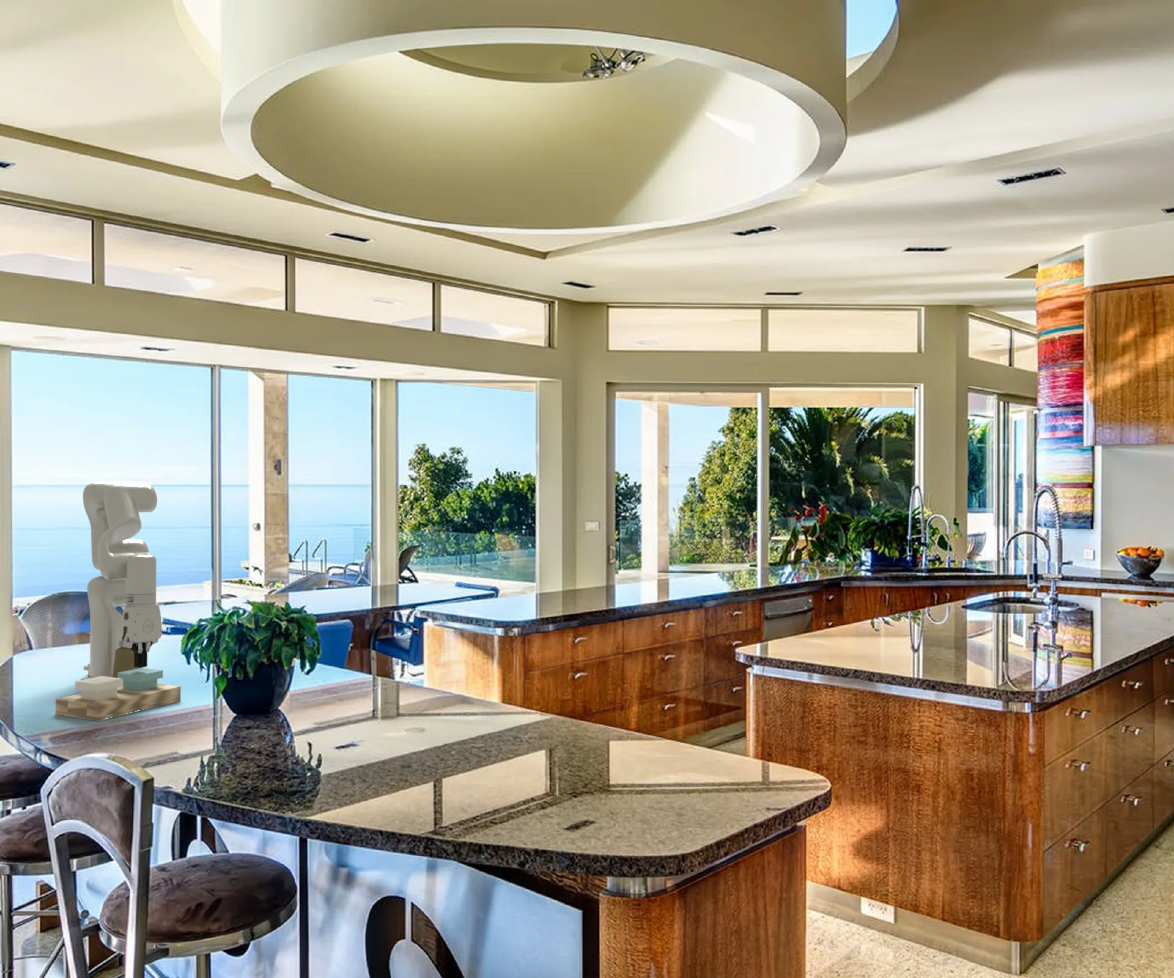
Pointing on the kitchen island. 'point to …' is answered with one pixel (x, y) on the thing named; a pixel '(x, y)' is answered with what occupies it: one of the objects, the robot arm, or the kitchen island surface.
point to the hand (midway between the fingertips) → (140, 666)
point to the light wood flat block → (117, 702)
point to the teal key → (140, 679)
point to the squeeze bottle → (123, 660)
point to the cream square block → (99, 688)
